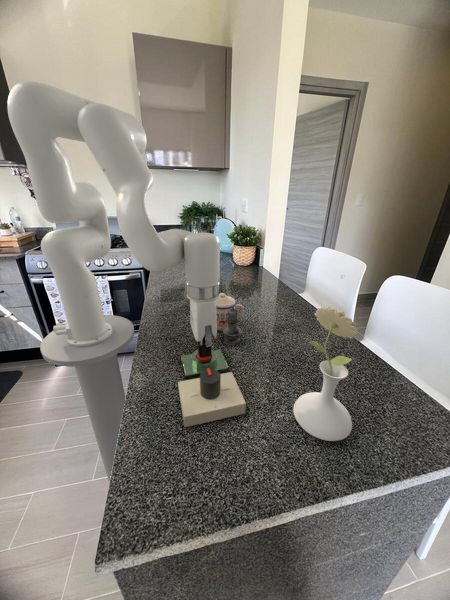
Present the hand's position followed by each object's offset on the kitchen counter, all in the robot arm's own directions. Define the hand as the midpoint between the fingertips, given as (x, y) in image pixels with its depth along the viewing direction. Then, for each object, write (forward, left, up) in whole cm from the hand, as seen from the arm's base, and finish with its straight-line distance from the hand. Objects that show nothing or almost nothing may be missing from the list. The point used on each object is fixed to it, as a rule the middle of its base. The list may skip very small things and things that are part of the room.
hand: (204, 354), depth 65 cm
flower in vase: (+20, -21, -5) cm, 30 cm away
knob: (-1, -11, -1) cm, 12 cm away
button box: (0, 0, -4) cm, 4 cm away
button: (0, 0, -2) cm, 2 cm away
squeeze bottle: (+4, +38, -5) cm, 38 cm away
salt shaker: (+11, +11, -5) cm, 16 cm away
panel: (-1, -11, -4) cm, 12 cm away
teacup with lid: (+12, +21, -5) cm, 24 cm away
